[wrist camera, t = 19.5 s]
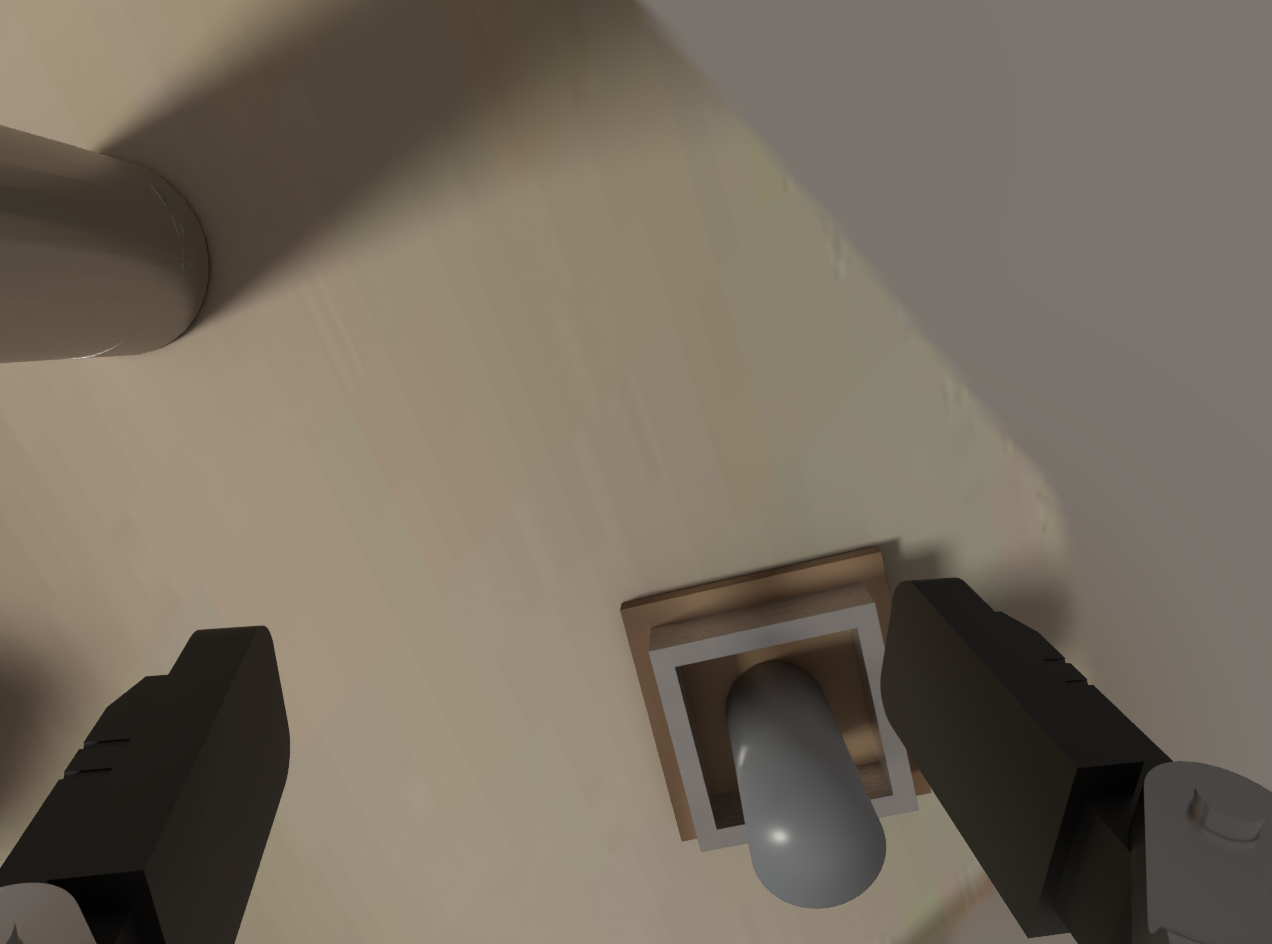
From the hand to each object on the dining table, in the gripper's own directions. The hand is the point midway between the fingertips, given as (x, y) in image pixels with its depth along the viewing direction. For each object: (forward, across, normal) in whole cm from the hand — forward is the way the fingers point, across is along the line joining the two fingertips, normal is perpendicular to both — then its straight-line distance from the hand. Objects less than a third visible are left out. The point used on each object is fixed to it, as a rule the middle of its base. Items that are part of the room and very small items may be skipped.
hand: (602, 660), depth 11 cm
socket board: (+24, +12, -21) cm, 34 cm away
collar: (+24, +12, -21) cm, 34 cm away
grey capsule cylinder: (+23, +11, -21) cm, 33 cm away
